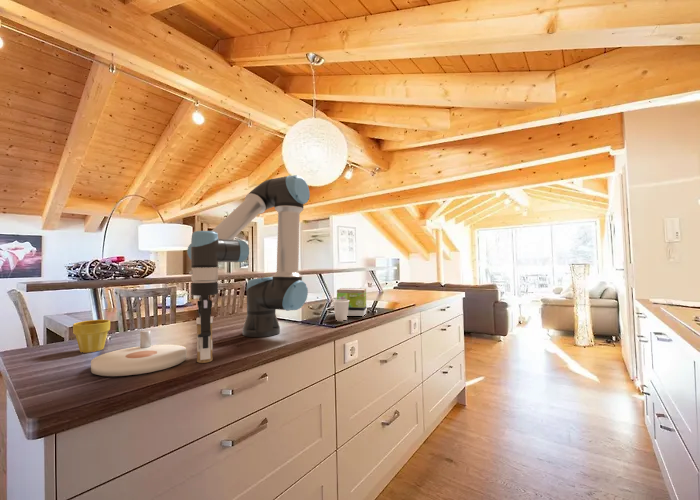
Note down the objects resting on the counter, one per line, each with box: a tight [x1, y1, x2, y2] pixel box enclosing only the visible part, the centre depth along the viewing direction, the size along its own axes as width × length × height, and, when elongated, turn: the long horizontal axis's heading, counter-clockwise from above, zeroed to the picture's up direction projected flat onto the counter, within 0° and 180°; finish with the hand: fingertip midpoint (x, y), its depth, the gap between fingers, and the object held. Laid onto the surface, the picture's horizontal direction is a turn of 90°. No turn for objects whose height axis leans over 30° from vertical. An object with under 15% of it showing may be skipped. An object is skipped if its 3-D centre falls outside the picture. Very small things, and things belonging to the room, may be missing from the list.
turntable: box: [90, 329, 188, 377], centre depth 102 cm, size 24×24×7 cm
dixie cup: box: [332, 299, 349, 322], centre depth 173 cm, size 8×8×10 cm
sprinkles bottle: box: [195, 315, 214, 364], centre depth 105 cm, size 5×5×13 cm
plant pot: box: [72, 319, 111, 354], centre depth 120 cm, size 10×10×10 cm
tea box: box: [336, 287, 367, 317], centre depth 188 cm, size 15×10×15 cm, turn 80°
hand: (204, 354), depth 104 cm, fingers open, 11 cm apart
